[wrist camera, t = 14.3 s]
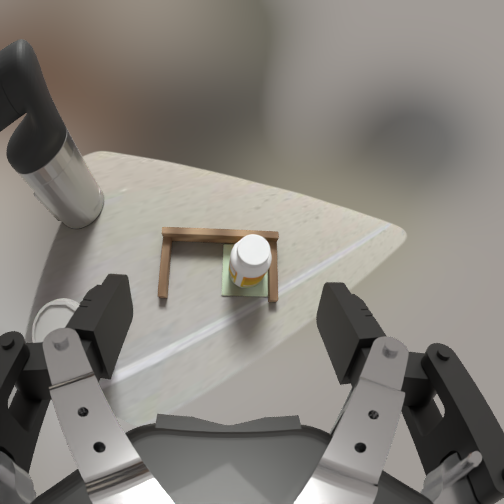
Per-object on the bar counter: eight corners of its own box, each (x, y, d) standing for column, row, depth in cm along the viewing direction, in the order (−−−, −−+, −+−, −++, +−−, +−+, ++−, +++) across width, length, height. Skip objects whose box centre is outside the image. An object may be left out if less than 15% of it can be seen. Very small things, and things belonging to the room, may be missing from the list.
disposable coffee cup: (134, 330, 39) (105, 321, 28) (110, 384, 35) (74, 392, 24) (86, 301, 39) (47, 282, 28) (63, 352, 36) (20, 348, 24)
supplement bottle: (270, 266, 44) (284, 243, 35) (252, 295, 42) (262, 279, 33) (240, 248, 45) (246, 220, 36) (221, 276, 43) (222, 255, 34)
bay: (159, 297, 41) (155, 293, 38) (165, 234, 44) (162, 226, 41) (276, 302, 43) (280, 298, 40) (274, 239, 46) (278, 231, 43)
